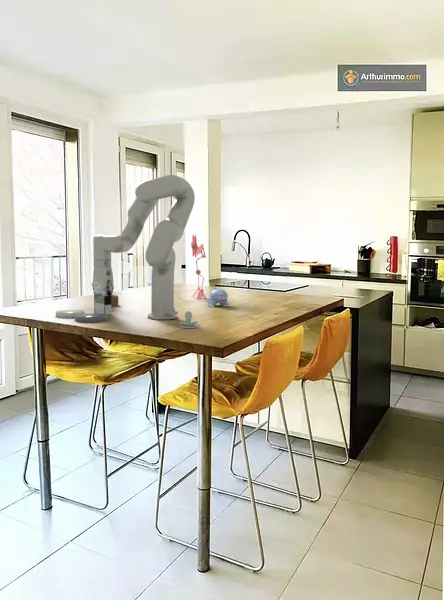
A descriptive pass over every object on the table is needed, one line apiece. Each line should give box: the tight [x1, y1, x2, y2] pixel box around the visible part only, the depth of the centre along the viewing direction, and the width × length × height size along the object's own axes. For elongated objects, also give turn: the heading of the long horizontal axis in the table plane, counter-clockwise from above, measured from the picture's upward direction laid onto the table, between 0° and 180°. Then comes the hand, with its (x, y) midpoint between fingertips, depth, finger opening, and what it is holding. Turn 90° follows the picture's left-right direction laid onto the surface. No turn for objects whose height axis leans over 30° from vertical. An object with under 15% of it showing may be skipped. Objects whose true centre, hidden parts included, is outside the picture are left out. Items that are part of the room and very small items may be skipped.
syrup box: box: [93, 282, 112, 316], centre depth 232 cm, size 6×6×14 cm
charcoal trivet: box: [74, 312, 108, 324], centre depth 219 cm, size 13×13×2 cm
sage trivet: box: [55, 309, 85, 319], centre depth 228 cm, size 12×12×2 cm
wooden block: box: [111, 294, 119, 307], centre depth 258 cm, size 9×4×18 cm, turn 96°
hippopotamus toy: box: [205, 285, 230, 308], centre depth 264 cm, size 11×15×10 cm
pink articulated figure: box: [179, 234, 208, 302], centre depth 286 cm, size 15×26×35 cm, turn 12°
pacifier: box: [178, 311, 198, 329], centre depth 208 cm, size 7×6×6 cm
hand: (102, 303), depth 233 cm, fingers closed on syrup box, 7 cm apart
